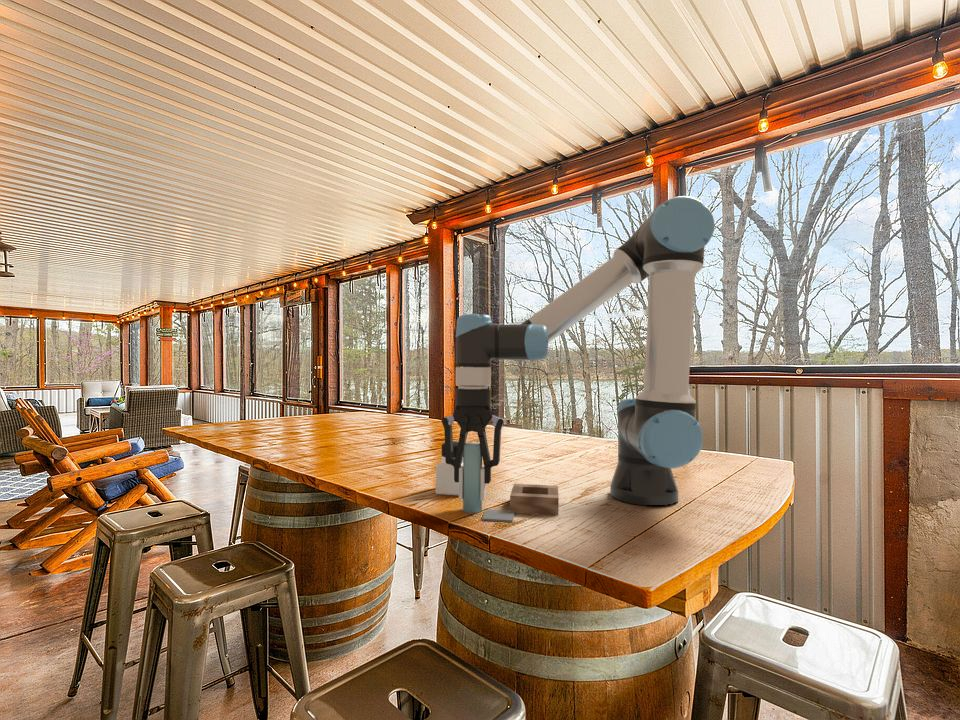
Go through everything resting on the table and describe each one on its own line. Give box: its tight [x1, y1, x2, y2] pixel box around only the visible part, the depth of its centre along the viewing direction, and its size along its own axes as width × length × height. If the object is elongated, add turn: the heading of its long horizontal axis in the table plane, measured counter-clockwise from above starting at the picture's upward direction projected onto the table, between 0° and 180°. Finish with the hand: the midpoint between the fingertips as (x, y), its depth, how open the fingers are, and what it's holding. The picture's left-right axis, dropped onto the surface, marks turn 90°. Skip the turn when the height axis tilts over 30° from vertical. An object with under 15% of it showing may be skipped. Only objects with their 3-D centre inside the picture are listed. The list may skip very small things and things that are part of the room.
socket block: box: [509, 483, 560, 516], centre depth 102 cm, size 10×10×4 cm
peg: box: [462, 442, 483, 514], centre depth 99 cm, size 4×4×14 cm
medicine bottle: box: [435, 440, 463, 497], centre depth 114 cm, size 7×7×12 cm
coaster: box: [481, 508, 516, 523], centre depth 95 cm, size 6×6×1 cm
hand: (472, 497), depth 99 cm, fingers closed on peg, 4 cm apart
